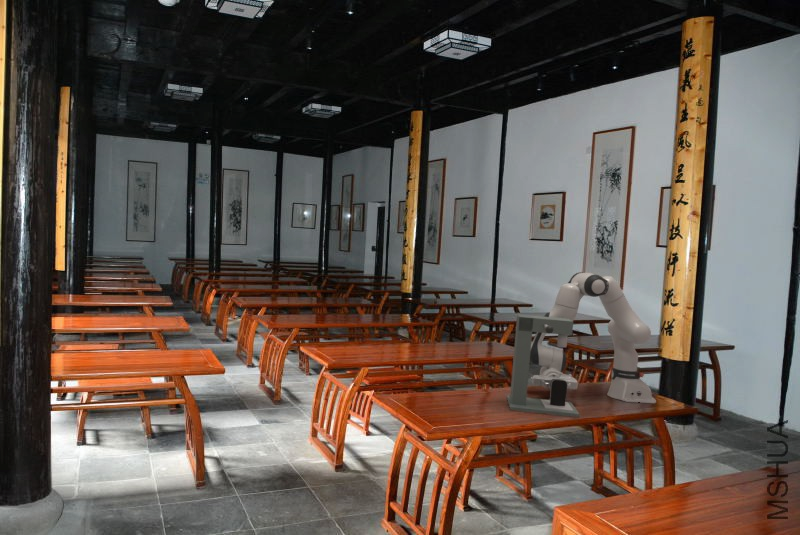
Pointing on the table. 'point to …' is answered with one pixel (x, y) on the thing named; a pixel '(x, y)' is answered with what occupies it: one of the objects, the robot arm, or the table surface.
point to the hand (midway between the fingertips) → (557, 386)
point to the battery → (558, 392)
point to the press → (522, 360)
